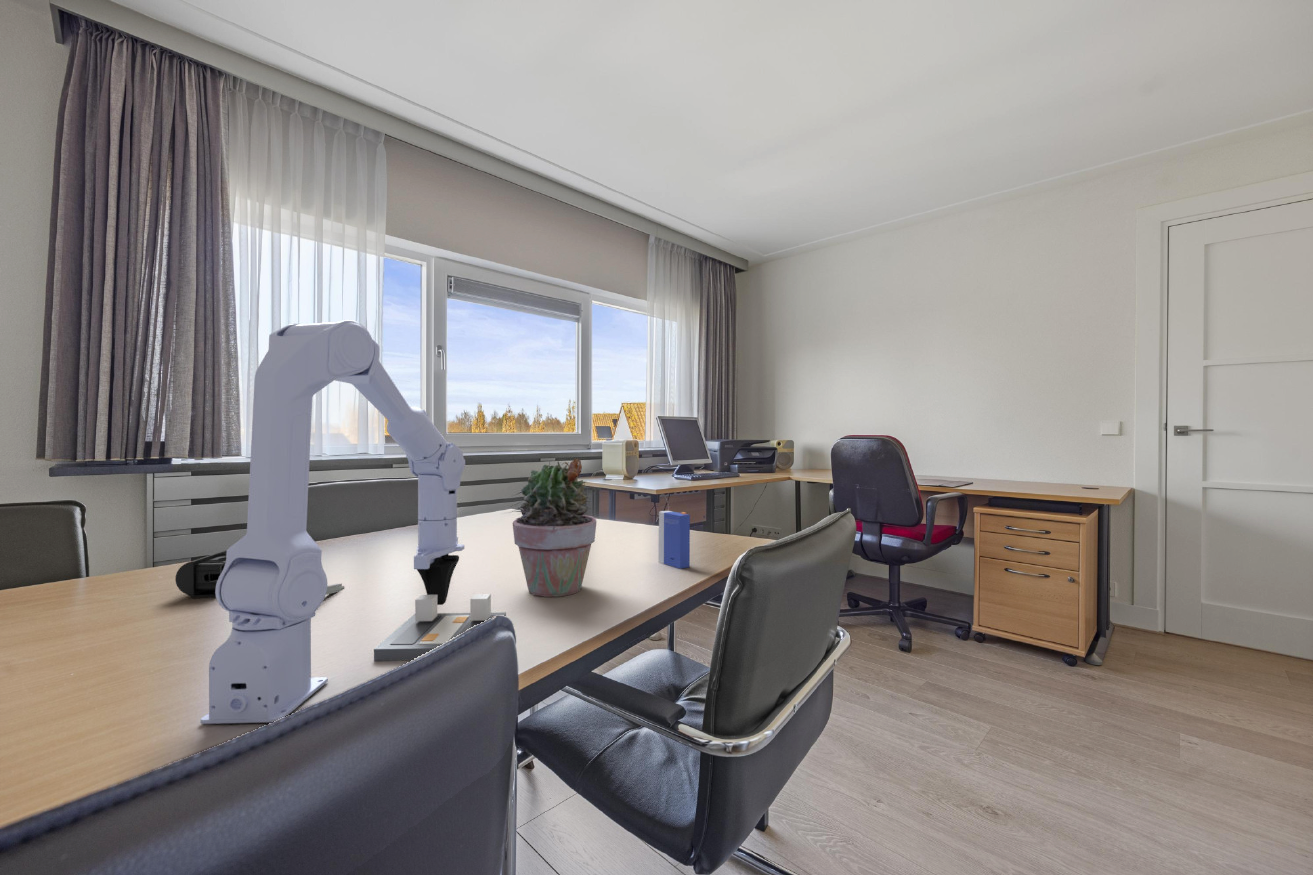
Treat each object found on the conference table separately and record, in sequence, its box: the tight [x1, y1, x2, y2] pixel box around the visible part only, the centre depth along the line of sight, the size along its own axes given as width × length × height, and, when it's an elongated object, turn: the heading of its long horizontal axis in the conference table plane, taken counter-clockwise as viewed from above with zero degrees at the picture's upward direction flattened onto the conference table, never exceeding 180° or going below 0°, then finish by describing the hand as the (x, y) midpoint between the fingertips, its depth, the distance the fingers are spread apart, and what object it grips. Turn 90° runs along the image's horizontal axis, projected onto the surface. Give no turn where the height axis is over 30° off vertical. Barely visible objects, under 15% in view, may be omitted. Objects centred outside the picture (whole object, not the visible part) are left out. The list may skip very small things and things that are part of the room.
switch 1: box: [414, 594, 438, 621], centre depth 83 cm, size 2×2×3 cm
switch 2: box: [469, 593, 492, 621], centre depth 83 cm, size 2×2×3 cm
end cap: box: [174, 549, 228, 599], centre depth 103 cm, size 10×7×7 cm
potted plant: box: [502, 458, 604, 598], centre depth 105 cm, size 18×20×25 cm
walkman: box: [658, 510, 691, 570], centre depth 124 cm, size 8×3×12 cm, turn 37°
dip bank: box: [373, 611, 507, 662], centre depth 79 cm, size 14×14×2 cm
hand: (437, 603), depth 88 cm, fingers closed
